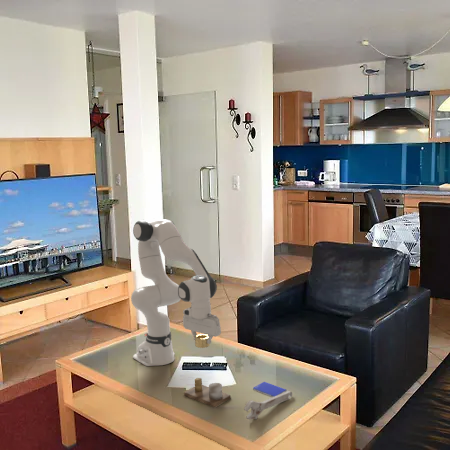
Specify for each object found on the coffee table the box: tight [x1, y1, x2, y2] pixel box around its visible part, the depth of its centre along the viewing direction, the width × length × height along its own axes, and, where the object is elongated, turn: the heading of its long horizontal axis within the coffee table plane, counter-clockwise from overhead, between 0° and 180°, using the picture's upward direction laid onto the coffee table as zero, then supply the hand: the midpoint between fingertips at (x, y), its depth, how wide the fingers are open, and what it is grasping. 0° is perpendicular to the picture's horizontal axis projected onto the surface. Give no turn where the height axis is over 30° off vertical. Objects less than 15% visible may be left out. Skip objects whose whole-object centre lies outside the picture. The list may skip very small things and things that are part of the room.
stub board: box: [183, 377, 232, 408], centre depth 232 cm, size 18×10×6 cm, turn 49°
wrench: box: [243, 390, 293, 420], centre depth 220 cm, size 8×2×30 cm
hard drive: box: [252, 381, 288, 398], centre depth 237 cm, size 2×8×12 cm
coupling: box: [194, 333, 211, 349], centre depth 244 cm, size 6×6×4 cm
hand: (202, 341), depth 244 cm, fingers closed on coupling, 6 cm apart
